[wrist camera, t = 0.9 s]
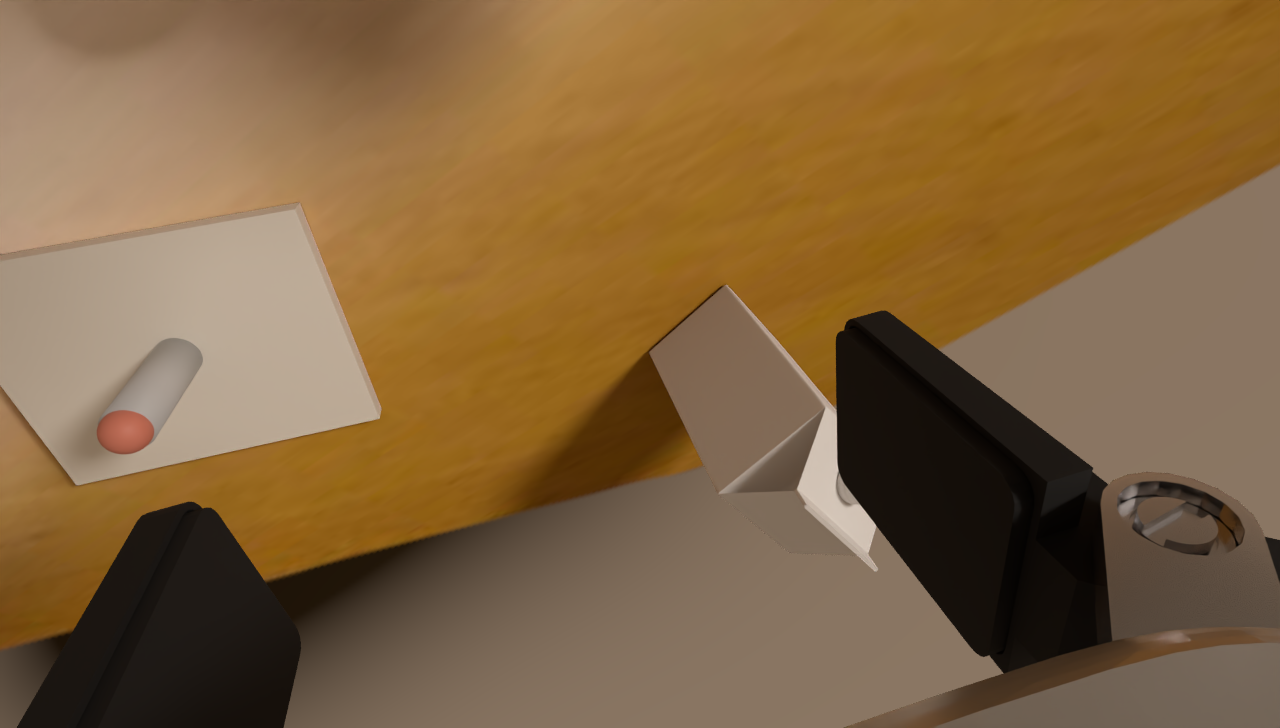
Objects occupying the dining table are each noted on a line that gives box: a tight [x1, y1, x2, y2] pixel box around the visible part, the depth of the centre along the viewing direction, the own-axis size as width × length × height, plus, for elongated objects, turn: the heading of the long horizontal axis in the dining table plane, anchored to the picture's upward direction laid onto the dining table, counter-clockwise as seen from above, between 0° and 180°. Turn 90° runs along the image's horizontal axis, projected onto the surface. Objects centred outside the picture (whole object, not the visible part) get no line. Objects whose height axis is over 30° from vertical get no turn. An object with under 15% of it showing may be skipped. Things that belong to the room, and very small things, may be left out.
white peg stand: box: [0, 202, 381, 485], centre depth 35 cm, size 14×18×10 cm
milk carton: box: [649, 285, 878, 572], centre depth 40 cm, size 7×7×19 cm
